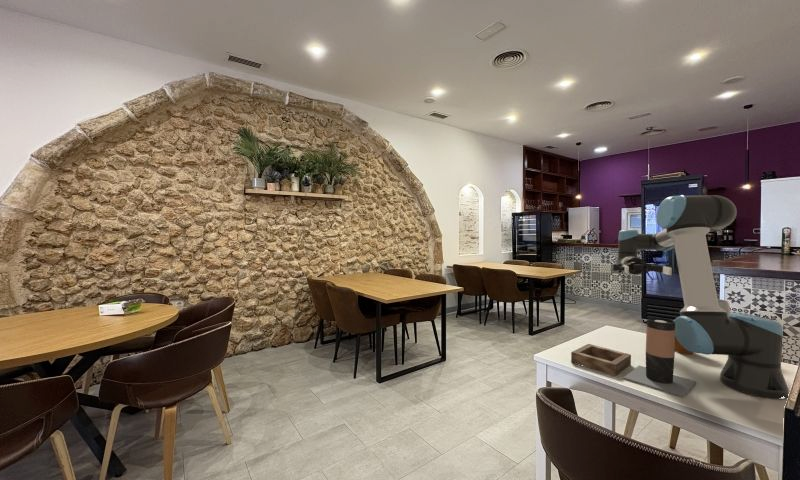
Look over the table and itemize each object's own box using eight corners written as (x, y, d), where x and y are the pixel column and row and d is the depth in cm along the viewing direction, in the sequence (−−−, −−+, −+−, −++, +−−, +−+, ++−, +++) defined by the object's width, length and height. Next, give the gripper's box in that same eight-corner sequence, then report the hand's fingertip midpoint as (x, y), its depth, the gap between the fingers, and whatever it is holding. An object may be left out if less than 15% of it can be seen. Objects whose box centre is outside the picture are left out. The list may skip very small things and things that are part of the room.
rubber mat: (696, 382, 110) (696, 381, 110) (683, 397, 100) (683, 395, 100) (639, 367, 123) (639, 365, 123) (623, 379, 113) (623, 377, 113)
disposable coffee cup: (695, 350, 140) (696, 322, 140) (700, 357, 132) (701, 327, 132) (666, 346, 145) (667, 318, 145) (670, 352, 137) (671, 324, 137)
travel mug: (679, 385, 107) (681, 324, 107) (652, 383, 109) (654, 322, 108) (665, 375, 115) (667, 317, 114) (640, 373, 116) (642, 316, 116)
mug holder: (630, 365, 125) (631, 354, 124) (615, 376, 115) (615, 364, 115) (588, 353, 136) (588, 343, 136) (571, 362, 127) (571, 352, 127)
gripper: (667, 275, 143) (688, 282, 123) (600, 272, 152) (610, 278, 132) (667, 257, 143) (689, 262, 123) (600, 255, 152) (611, 259, 132)
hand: (648, 270), depth 128 cm, fingers open, 13 cm apart
